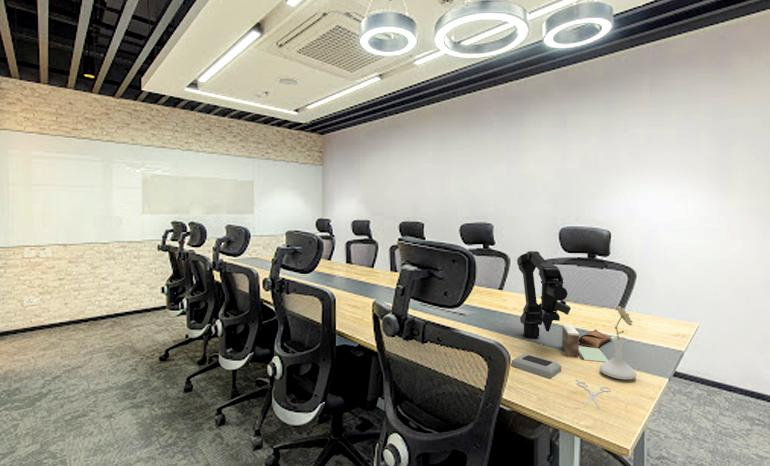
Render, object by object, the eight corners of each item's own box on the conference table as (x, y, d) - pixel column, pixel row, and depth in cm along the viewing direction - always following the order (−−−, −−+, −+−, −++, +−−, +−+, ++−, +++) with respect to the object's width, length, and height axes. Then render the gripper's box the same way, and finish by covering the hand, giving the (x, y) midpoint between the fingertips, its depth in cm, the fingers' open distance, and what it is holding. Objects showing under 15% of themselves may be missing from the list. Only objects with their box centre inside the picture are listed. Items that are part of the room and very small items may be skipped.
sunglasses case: (599, 347, 160) (590, 332, 162) (584, 352, 164) (576, 338, 167) (612, 338, 172) (604, 325, 174) (598, 343, 177) (590, 330, 179)
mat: (581, 359, 148) (581, 357, 148) (573, 346, 164) (573, 344, 164) (609, 362, 146) (609, 360, 146) (598, 348, 161) (598, 347, 161)
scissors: (610, 386, 125) (613, 412, 107) (610, 388, 125) (613, 415, 107) (575, 378, 130) (572, 402, 113) (575, 381, 130) (572, 405, 113)
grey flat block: (522, 351, 148) (561, 362, 137) (522, 360, 148) (561, 372, 137) (511, 357, 141) (550, 369, 130) (510, 367, 141) (550, 379, 130)
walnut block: (567, 356, 152) (568, 332, 151) (562, 347, 163) (562, 324, 163) (578, 357, 150) (579, 333, 150) (571, 347, 162) (572, 325, 162)
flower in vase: (637, 385, 126) (640, 313, 125) (598, 377, 132) (601, 308, 131) (635, 372, 137) (638, 305, 136) (599, 365, 143) (602, 301, 142)
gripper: (574, 301, 147) (572, 340, 148) (565, 292, 165) (563, 326, 166) (544, 299, 150) (542, 337, 151) (538, 290, 168) (537, 324, 169)
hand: (547, 331), depth 159 cm, fingers closed
